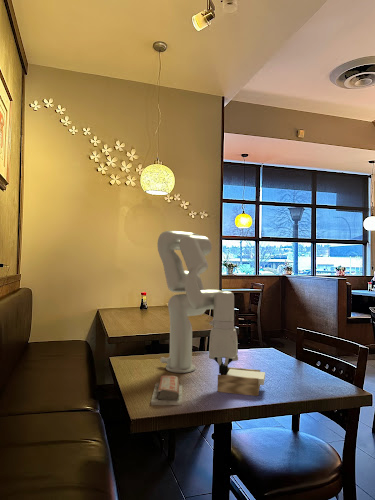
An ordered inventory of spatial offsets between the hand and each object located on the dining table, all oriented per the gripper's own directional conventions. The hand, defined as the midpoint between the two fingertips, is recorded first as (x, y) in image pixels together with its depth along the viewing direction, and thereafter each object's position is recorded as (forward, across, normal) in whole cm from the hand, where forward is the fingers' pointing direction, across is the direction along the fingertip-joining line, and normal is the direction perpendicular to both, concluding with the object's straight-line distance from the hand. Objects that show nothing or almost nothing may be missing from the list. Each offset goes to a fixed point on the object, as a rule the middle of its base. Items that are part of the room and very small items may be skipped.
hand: (223, 375), depth 129 cm
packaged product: (+5, -17, -14) cm, 22 cm away
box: (+4, +6, 0) cm, 7 cm away
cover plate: (+1, +8, 0) cm, 8 cm away
